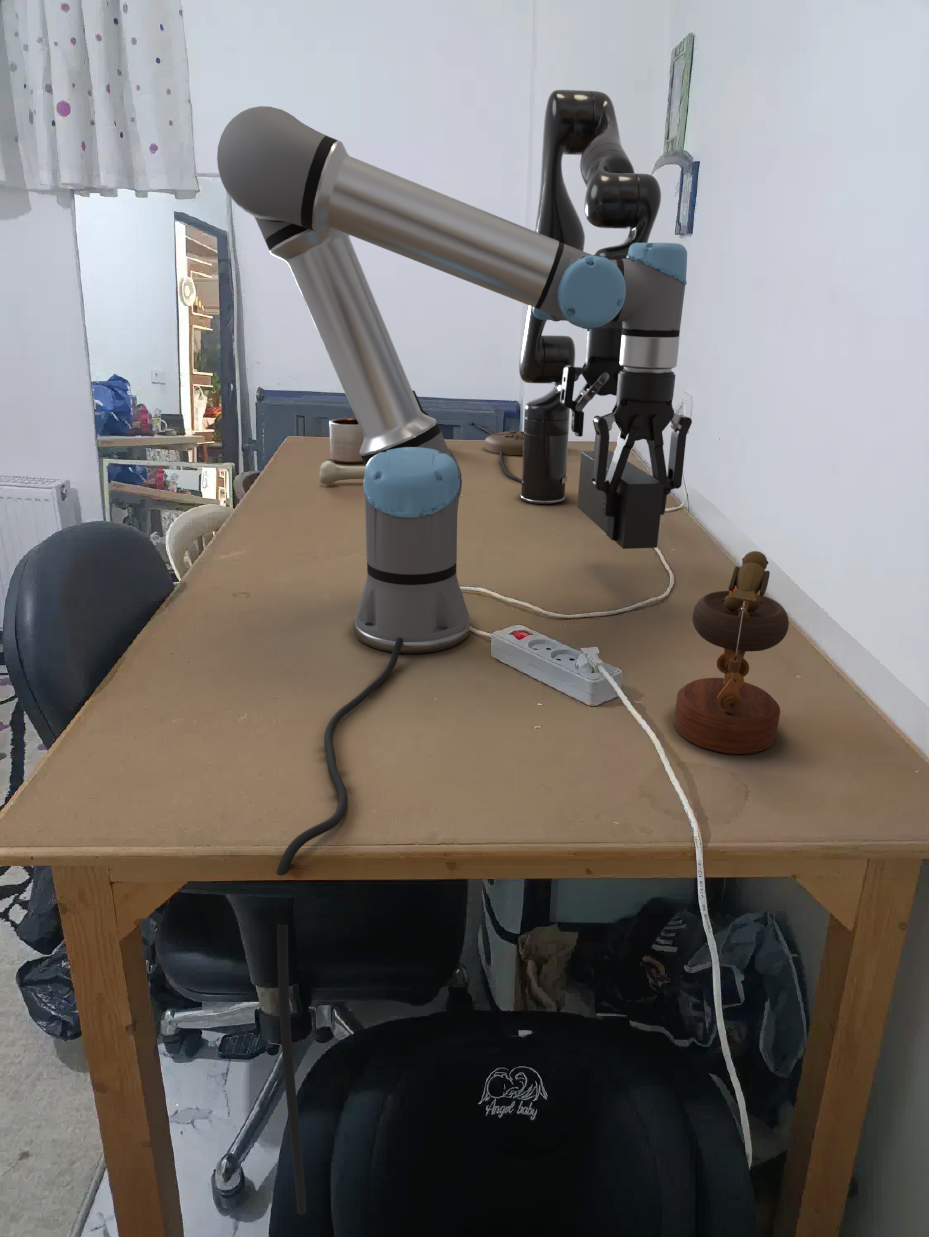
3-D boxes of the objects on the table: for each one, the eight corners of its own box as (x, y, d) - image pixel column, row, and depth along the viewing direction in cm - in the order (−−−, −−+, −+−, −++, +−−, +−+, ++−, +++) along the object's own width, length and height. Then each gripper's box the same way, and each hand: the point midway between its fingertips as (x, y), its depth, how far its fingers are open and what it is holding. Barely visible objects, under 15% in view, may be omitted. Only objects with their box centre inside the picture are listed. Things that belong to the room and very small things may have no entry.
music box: (796, 766, 83) (813, 573, 76) (681, 766, 84) (687, 577, 77) (763, 694, 97) (775, 526, 90) (665, 695, 98) (669, 530, 91)
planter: (327, 456, 217) (325, 418, 214) (369, 454, 220) (368, 417, 217) (334, 465, 208) (332, 425, 204) (377, 463, 211) (376, 424, 207)
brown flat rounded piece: (490, 464, 211) (490, 447, 209) (483, 443, 237) (483, 428, 235) (573, 465, 212) (575, 448, 210) (557, 444, 238) (558, 429, 236)
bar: (657, 548, 119) (664, 483, 115) (622, 549, 118) (628, 484, 114) (606, 506, 139) (611, 450, 136) (577, 507, 138) (581, 451, 135)
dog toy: (407, 478, 195) (407, 457, 193) (410, 485, 190) (410, 462, 188) (319, 480, 192) (318, 458, 190) (319, 487, 186) (318, 464, 185)
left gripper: (699, 366, 117) (680, 528, 126) (573, 366, 115) (563, 531, 123) (723, 372, 111) (701, 542, 119) (590, 372, 108) (577, 546, 117)
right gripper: (649, 324, 129) (640, 431, 135) (559, 323, 127) (554, 432, 133) (668, 326, 123) (657, 439, 128) (573, 325, 120) (566, 440, 126)
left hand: (631, 536), depth 121 cm, fingers closed on bar, 5 cm apart
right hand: (604, 435), depth 131 cm, fingers open, 8 cm apart
